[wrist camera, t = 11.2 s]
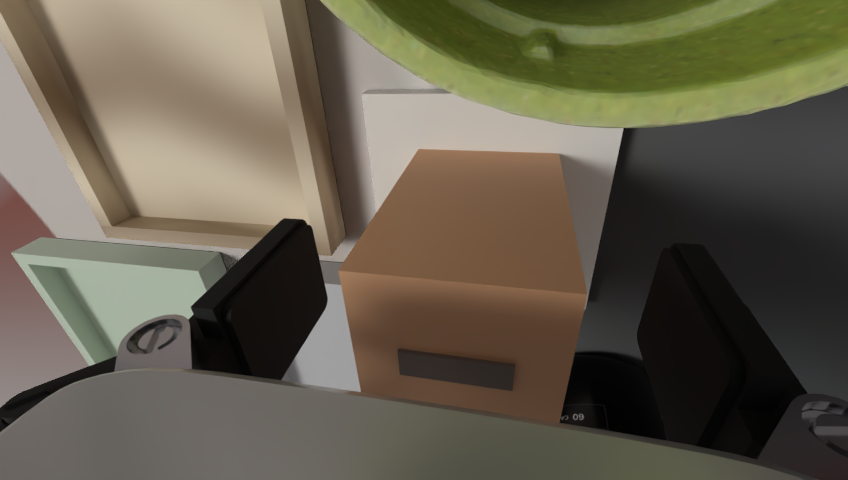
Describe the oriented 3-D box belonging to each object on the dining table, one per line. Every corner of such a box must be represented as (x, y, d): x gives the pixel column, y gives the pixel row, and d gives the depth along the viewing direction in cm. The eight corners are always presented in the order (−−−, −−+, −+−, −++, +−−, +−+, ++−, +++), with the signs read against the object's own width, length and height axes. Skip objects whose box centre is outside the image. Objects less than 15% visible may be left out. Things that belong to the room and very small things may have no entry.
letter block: (558, 153, 13) (588, 298, 7) (542, 272, 15) (553, 456, 9) (418, 148, 14) (336, 273, 8) (424, 262, 16) (364, 423, 10)
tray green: (274, 399, 24) (261, 421, 23) (129, 375, 27) (109, 394, 25) (219, 252, 19) (198, 271, 18) (41, 237, 21) (10, 253, 20)
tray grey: (473, 431, 22) (470, 458, 21) (295, 402, 24) (283, 425, 23) (477, 274, 16) (473, 297, 15) (246, 254, 19) (226, 273, 17)
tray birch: (345, 235, 17) (331, 256, 16) (134, 221, 19) (106, 237, 18) (289, -90, 11) (259, -99, 10) (-1, -59, 13) (-55, -63, 12)
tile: (583, 299, 16) (585, 309, 16) (389, 281, 18) (386, 290, 17) (626, 88, 12) (631, 92, 11) (367, 89, 13) (361, 94, 13)
